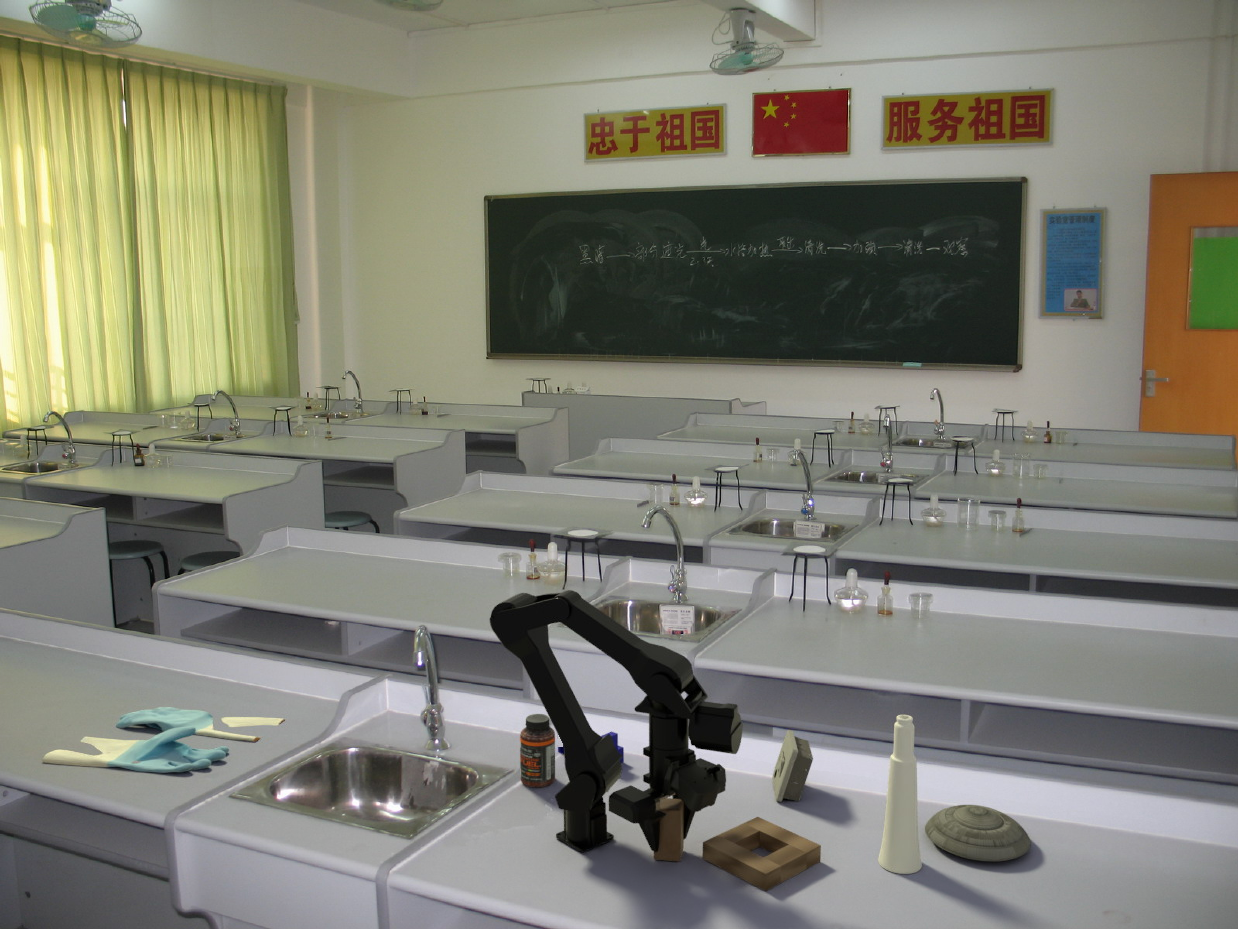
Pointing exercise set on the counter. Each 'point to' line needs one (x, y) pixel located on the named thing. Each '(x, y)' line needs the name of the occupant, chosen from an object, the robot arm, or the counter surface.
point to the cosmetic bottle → (901, 804)
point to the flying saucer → (978, 833)
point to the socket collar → (760, 871)
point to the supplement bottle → (537, 752)
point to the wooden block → (671, 830)
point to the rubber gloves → (160, 742)
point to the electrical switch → (792, 768)
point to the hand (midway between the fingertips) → (668, 844)
